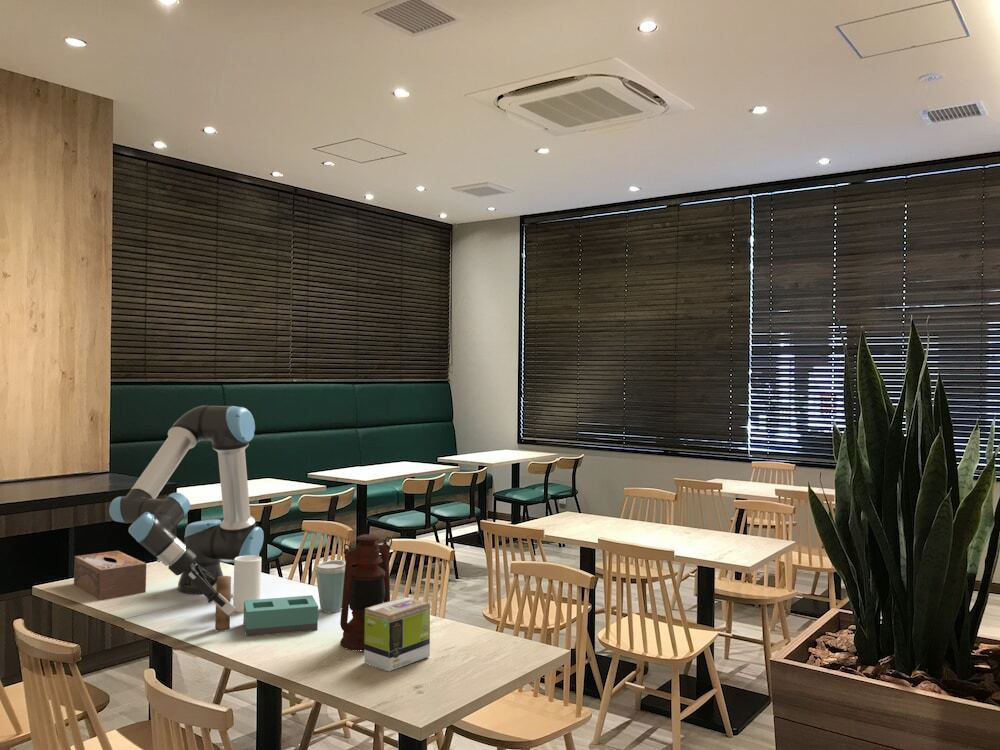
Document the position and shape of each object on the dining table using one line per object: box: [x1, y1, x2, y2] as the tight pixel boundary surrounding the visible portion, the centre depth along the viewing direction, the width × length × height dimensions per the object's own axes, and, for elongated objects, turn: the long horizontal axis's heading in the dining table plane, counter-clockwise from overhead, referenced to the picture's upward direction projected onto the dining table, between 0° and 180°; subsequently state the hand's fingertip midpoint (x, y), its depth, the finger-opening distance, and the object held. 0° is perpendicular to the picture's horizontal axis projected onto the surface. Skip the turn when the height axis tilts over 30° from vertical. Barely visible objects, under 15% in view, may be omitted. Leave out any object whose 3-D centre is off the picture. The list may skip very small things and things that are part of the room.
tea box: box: [363, 596, 431, 672], centre depth 207 cm, size 15×10×15 cm
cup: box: [232, 555, 262, 613], centre depth 249 cm, size 8×8×16 cm
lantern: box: [339, 533, 393, 652], centre depth 220 cm, size 17×14×30 cm
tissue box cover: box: [73, 550, 147, 601], centre depth 268 cm, size 26×14×10 cm, turn 46°
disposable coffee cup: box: [314, 559, 346, 613], centre depth 250 cm, size 11×11×15 cm
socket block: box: [242, 594, 319, 637], centre depth 232 cm, size 12×20×7 cm, turn 112°
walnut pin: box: [214, 575, 232, 632], centre depth 229 cm, size 4×4×15 cm
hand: (231, 605), depth 230 cm, fingers open, 13 cm apart
